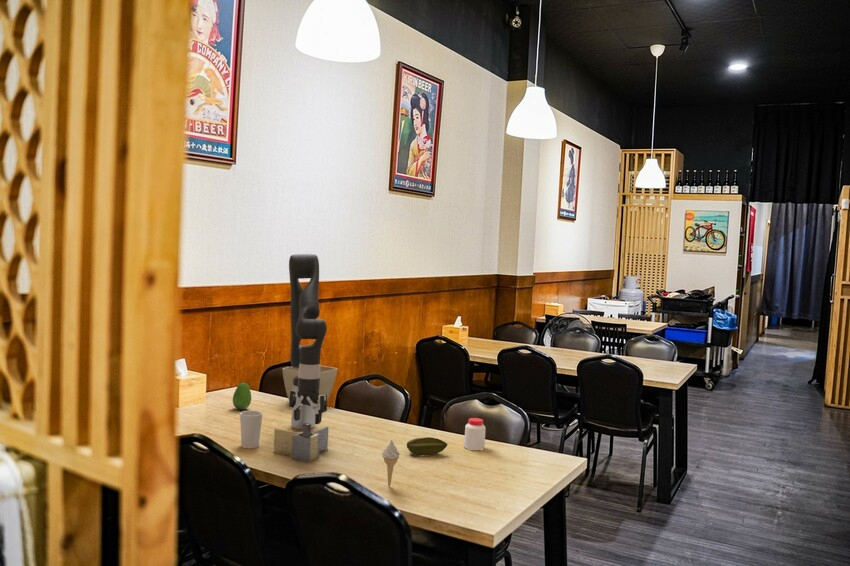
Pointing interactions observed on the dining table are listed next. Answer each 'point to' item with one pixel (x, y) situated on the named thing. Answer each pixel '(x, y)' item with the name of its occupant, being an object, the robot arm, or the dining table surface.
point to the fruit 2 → (426, 446)
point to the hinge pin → (306, 430)
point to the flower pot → (325, 379)
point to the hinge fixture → (301, 444)
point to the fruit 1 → (242, 396)
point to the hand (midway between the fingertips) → (307, 422)
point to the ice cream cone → (390, 459)
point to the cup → (250, 428)
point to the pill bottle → (475, 434)
